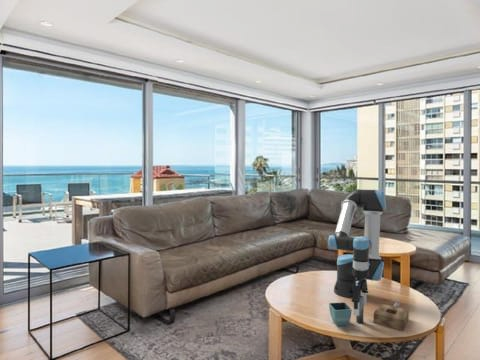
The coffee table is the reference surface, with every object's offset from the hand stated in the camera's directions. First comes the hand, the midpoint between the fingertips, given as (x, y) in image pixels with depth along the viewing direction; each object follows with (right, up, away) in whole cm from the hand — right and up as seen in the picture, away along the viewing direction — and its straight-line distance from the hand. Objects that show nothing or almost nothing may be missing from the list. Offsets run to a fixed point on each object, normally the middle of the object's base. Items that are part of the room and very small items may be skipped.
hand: (359, 310), depth 168 cm
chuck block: (+20, -6, +6) cm, 22 cm away
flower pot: (-10, -7, -1) cm, 12 cm away
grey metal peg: (0, -6, +1) cm, 6 cm away
